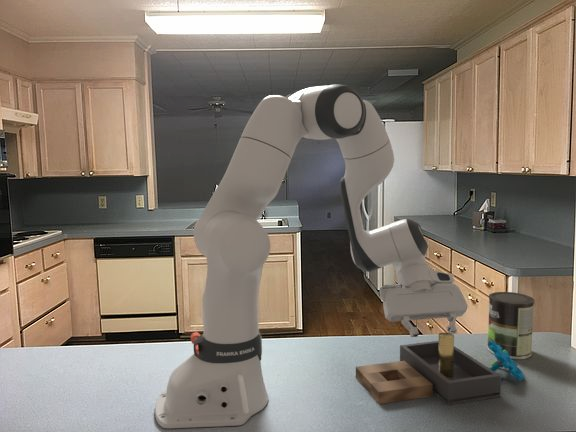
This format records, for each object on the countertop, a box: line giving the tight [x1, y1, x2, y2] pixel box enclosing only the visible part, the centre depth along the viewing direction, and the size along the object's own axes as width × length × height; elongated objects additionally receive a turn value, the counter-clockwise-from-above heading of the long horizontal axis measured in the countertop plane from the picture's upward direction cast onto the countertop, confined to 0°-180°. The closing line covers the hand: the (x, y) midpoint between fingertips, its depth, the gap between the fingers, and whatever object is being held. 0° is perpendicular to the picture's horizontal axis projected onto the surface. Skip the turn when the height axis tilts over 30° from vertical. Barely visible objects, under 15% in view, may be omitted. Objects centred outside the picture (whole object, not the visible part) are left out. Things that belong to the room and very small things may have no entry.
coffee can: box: [487, 291, 535, 360], centre depth 114 cm, size 10×10×14 cm
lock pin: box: [438, 332, 455, 378], centre depth 100 cm, size 3×3×9 cm
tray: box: [399, 340, 502, 406], centre depth 100 cm, size 12×20×4 cm, turn 14°
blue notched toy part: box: [487, 340, 525, 382], centre depth 102 cm, size 11×6×10 cm
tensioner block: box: [355, 360, 434, 405], centre depth 97 cm, size 12×12×2 cm
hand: (434, 334), depth 106 cm, fingers open, 8 cm apart
